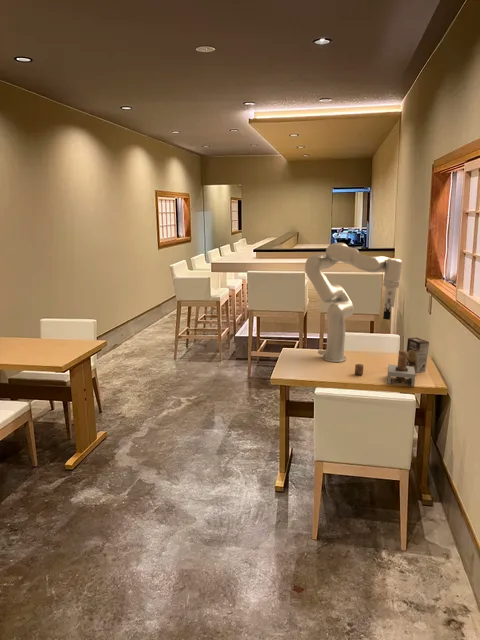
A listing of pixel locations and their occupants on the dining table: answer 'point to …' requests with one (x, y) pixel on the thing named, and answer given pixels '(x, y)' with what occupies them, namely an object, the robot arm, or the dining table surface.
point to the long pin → (402, 364)
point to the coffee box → (417, 354)
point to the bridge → (401, 373)
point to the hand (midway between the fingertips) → (386, 317)
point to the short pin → (359, 369)
